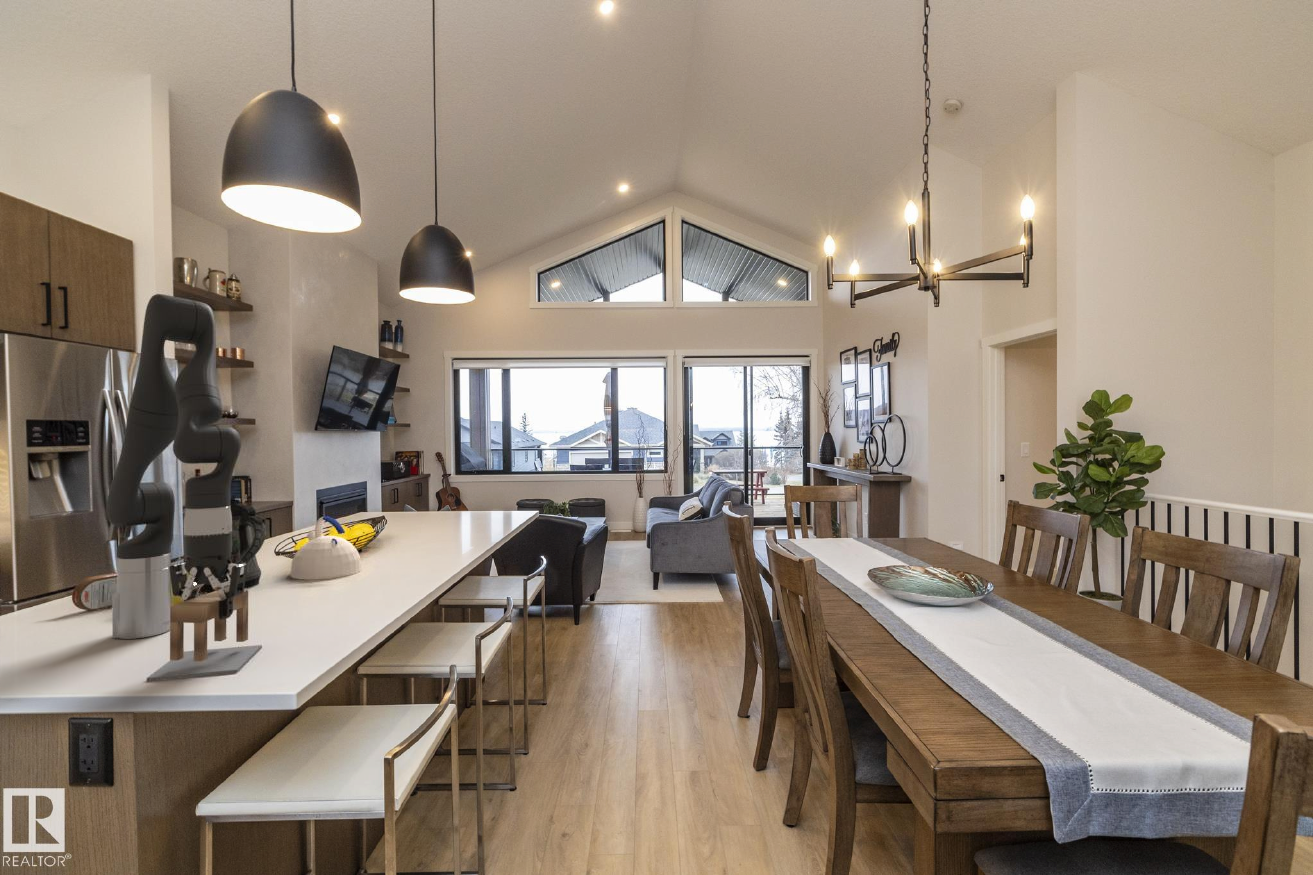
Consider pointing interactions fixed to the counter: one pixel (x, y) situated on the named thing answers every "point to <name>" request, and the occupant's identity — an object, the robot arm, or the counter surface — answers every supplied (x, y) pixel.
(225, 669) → the mat
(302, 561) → the kettle
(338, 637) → the counter surface
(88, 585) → the tin
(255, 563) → the beer stein
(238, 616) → the stool
